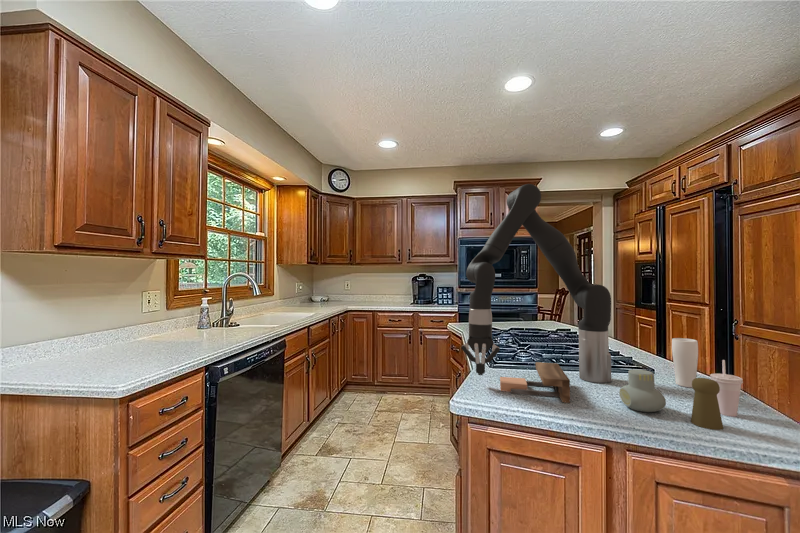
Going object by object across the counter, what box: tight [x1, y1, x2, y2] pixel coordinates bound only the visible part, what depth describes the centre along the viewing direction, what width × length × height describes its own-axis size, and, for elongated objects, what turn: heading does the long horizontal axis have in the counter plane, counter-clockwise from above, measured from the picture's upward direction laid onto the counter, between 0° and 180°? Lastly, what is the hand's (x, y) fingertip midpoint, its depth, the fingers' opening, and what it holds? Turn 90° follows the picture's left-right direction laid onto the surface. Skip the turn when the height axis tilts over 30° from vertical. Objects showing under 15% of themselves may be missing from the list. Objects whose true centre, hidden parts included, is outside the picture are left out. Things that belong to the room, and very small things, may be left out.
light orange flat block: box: [499, 376, 528, 393], centre depth 115 cm, size 8×7×2 cm
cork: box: [690, 377, 724, 431], centre depth 87 cm, size 6×6×11 cm
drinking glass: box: [671, 337, 699, 389], centre depth 117 cm, size 7×7×15 cm
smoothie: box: [709, 359, 744, 418], centre depth 93 cm, size 6×6×14 cm
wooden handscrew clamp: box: [510, 361, 571, 404], centre depth 113 cm, size 16×20×6 cm
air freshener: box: [618, 368, 667, 413], centre depth 97 cm, size 11×8×10 cm
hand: (480, 374), depth 118 cm, fingers closed
